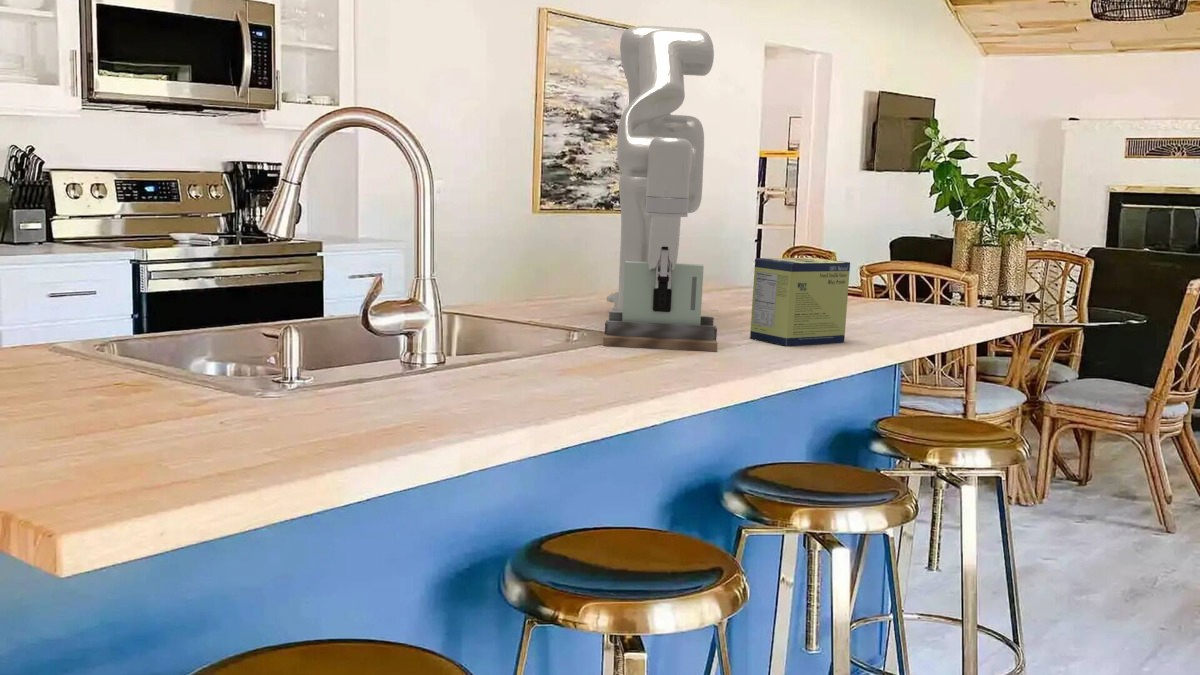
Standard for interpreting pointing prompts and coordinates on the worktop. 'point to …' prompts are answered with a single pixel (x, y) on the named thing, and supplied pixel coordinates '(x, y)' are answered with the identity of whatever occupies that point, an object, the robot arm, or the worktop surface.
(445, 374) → the worktop surface
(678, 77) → the robot arm
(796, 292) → the protein box
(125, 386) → the worktop surface
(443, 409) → the worktop surface
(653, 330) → the door track
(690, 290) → the door panel
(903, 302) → the worktop surface
